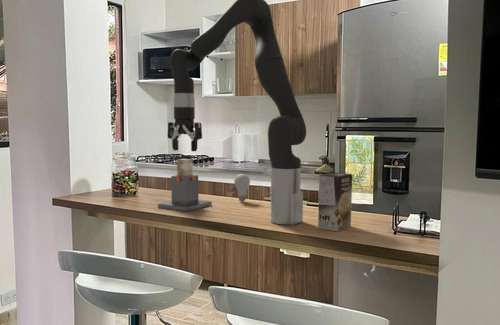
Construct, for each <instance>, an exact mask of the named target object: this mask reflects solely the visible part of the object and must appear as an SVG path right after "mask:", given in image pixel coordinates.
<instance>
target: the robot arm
mask: <svg viewBox="0 0 500 325" xmlns="http://www.w3.org/2000/svg"><path fill="white" fill-rule="evenodd" d="M243 23H245V24H247V25H248V26H249V27H250V28H251V31H252V34H253V37H254V40H255V53H254V66H255V71H256V74H257V78H258V81H259V83H260V86H261V87H262V88H263V90H264V91H265V92H266V94H267V95H268V96H269V98H270V99H271V100H272V102H274V104H275V105H276V106H275V107H277V109H278V111H279V115H277V116H275V117H273V118H272V119H271V120H270V122H269V124H268V130H267V144H268V156H269V161H270V163H271V165H270V166H271V167H270V222H271V223H273V224H277V225H297V224H299V223H301V222H303V219H304V217H303V216H304V213H303V211H304V210H303V209H304V203H303V202H304V192H303V191H301V182H302V181H301V180H302V178H301V175H302V174H301V173H302V170H301V167H302V161H301V159H300V157H298V156H296V155H295V154H294V152H293V149H292V146H297V145H301V144H302V143H303V142H304V141H305V139H306V137H307V127H306V123H305V120H304V117H303V115H302V113H301V110H300V107H299V105H298V102H297V100H296V98H295V95H294V92H293V88H292V85H291V82H290V79H289V76H288V72H287V68H286V64H285V61H284V58H283V55H282V52H281V49H280V45H279V42H278V40H277V39H278V38H277V37H276V32H275V29H274V23H273V17H272V12H271V8H270V5H269V4H268V3H267V1H266V0H235V1H234V2H233V3H232V5H230V7H228V9H227V10H226V11H224V13H222V15H221V16H220V17H219V18H218V19H217V20H216V21H215V23H213V24H212V25H211V26H210V27H208V28H207V29H206V30H205V31H204V32H202V33H201V34H200V35H198V36H197V37H196V38H195V39H193V40H192V41H191V44H190V49H189V50H184V49H180V48H177V49H175V50H173V51H172V52H171V54H170V55H169V56H170V57H169V67H170V71H171V75H172V79H173V83H174V85H173V87H174V88H173V90H174V94H173V119H174V122H173V121H168V123H167V138H168V139H169V140H170V139H171V145H172V150H173V151H179V140H178V139H179V138H180V136H182V135H187V136H188V137H189V138H190V140H191V141H190V143H191V144H190V146H191V147H190V148H191V152H197V150H198V141H199V140H202V138H203V130H202V127H203V126H202V122H200V121H199V122H195V118H196V116H195V115H196V113H195V112H196V109H195V107H196V106H195V105H196V104H195V91H194V90H195V84H194V83H195V82H194V79H193V78H192V77H190V76H189V73H188V72H190V71H193V70H195V69H196V68H198V66H200V65H201V63H202V62H203V61H204V59H205V58H207V57H208V56H209V55H210V54H212V53H213V52H215V51H216V50H218V48H220V47H221V45H223V43H224V41H225V39H226V37H227V36H228V35H229V33H230V32H231V31H232V30H233V29H234V28H235V27H237V26H238V25H240V24H243Z"/></svg>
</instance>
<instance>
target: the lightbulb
mask: <svg viewBox="0 0 500 325" xmlns="http://www.w3.org/2000/svg"><path fill="white" fill-rule="evenodd" d="M250 180H251V179H250V177H249V176H248V175H247V174H244V173H240V174H237V175H236V176H235V177H234V183H233V184H234V186H235V188H236V191H237V195H238V201H240V202H242V203H243V202H245V200H246V196H247V190H248V188H249V186H250V184H251V181H250Z"/></svg>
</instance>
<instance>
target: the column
mask: <svg viewBox="0 0 500 325" xmlns="http://www.w3.org/2000/svg"><path fill="white" fill-rule="evenodd" d="M176 175H177V176H181V177H188V176H193V175H194V174H193V159H192V158H181V159H176Z"/></svg>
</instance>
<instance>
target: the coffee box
mask: <svg viewBox="0 0 500 325" xmlns="http://www.w3.org/2000/svg"><path fill="white" fill-rule="evenodd" d="M318 181H319V182H318V215H317V217H318V222H317V223H318V224H317V225H318V227H317V228H318V229H320V230H325V231H326V230H327V231H333V232H338V231H342V230H344V229H346V228H347V229H348V228H349V227H352V226H351V225H352V203H353V202H352V200H353V198H352V196H353V194H352V193H353V174H352V173H346V172H345V173H342V172H333V173H332V172H331V173H324V174H319V180H318Z"/></svg>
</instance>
